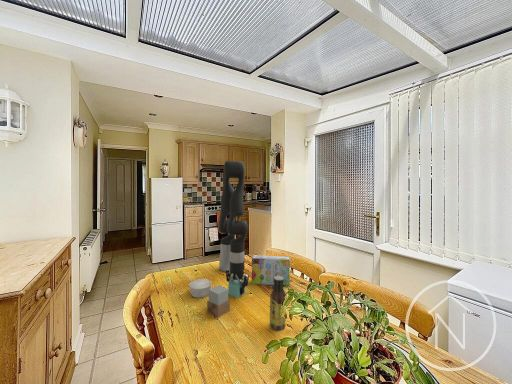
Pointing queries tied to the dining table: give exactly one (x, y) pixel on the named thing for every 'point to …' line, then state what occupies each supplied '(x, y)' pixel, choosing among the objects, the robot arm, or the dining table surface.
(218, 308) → the tower base
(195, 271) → the dining table surface
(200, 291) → the ramekin
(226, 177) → the robot arm
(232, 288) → the teal cube
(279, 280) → the sauce bottle
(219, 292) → the block
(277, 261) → the snack box
